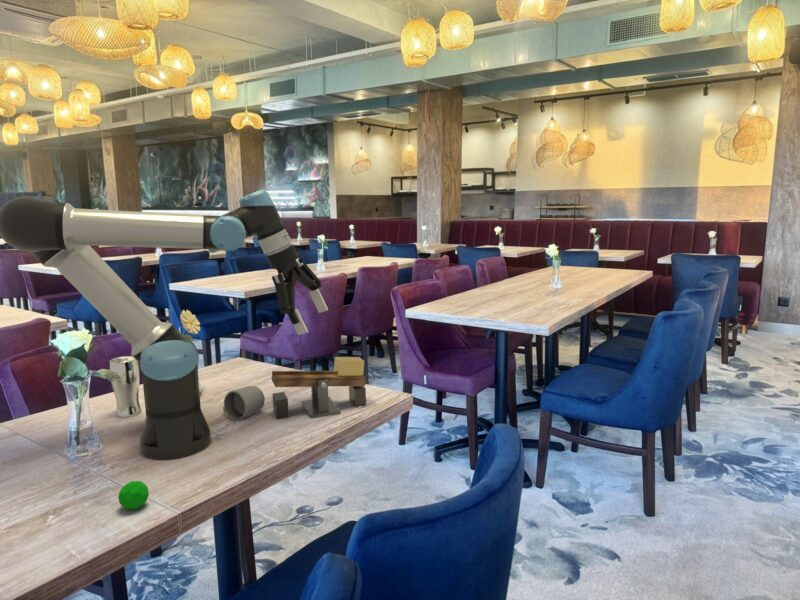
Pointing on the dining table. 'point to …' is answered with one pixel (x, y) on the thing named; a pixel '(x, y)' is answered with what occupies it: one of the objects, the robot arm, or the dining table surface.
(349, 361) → the block
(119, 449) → the dining table surface
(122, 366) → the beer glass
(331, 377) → the beam
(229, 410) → the ceramic mug
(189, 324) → the flower in vase
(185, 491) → the dining table surface
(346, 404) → the dining table surface
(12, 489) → the dining table surface
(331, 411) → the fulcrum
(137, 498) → the polyhedron
